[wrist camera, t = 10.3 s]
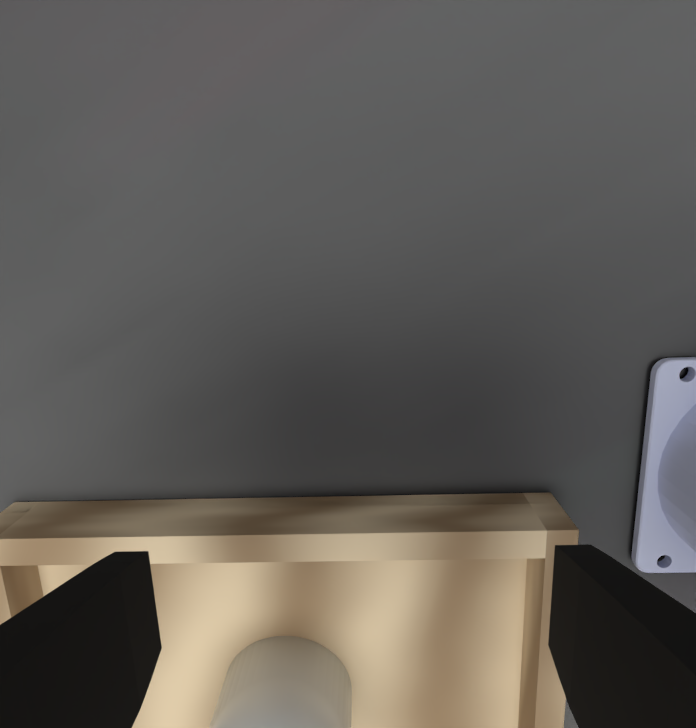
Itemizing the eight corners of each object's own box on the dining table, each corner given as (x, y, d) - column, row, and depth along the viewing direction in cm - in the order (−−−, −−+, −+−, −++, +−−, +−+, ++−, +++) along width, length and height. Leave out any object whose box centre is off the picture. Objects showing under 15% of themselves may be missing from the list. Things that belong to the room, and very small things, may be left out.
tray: (550, 492, 19) (578, 530, 16) (529, 827, 22) (549, 898, 20) (14, 502, 19) (-36, 539, 17) (80, 825, 23) (46, 894, 21)
